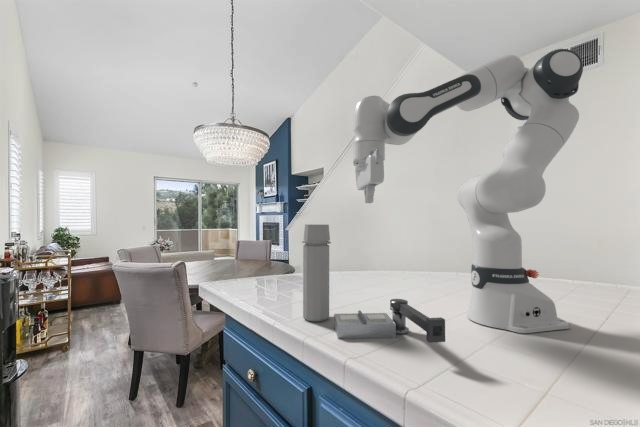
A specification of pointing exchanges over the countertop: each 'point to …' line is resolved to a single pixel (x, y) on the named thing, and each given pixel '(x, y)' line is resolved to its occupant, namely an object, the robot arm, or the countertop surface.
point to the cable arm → (421, 320)
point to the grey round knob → (400, 322)
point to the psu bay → (364, 325)
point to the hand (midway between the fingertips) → (369, 203)
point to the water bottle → (316, 272)
